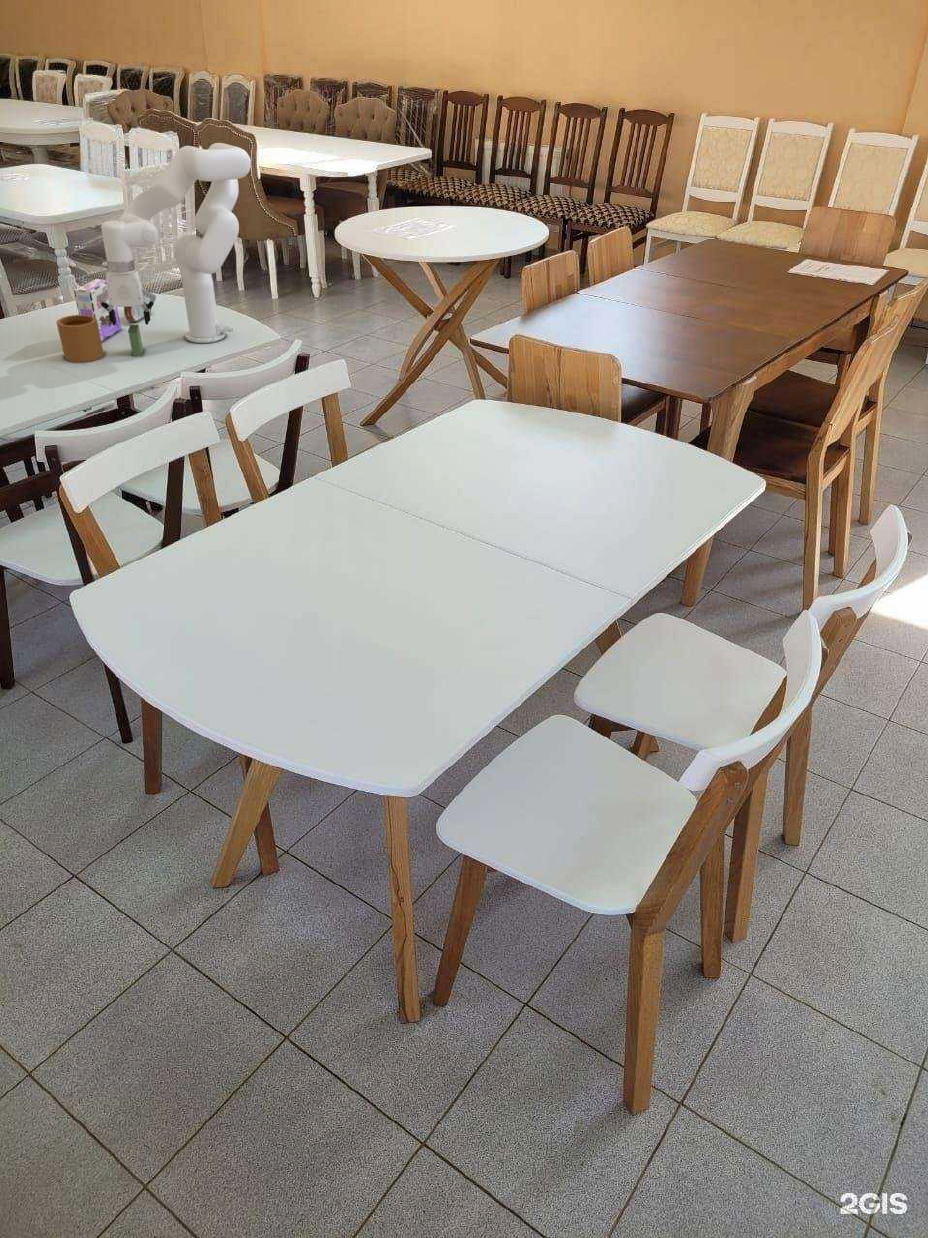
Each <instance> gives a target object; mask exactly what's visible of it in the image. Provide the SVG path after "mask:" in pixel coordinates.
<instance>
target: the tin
mask: <svg viewBox="0 0 928 1238" xmlns="http://www.w3.org/2000/svg"><path fill="white" fill-rule="evenodd" d="M150 300H151V299H150V298H149V297H147V296H144V301H145V302H146V303H147V304H148V303H149V302H150ZM152 307H153V306H152ZM152 307H151V308H150V310H149V314H150V315H151V312H152ZM143 312H144V309H143V308H142V307H141V306H136V307H123V313H124V317H125V319H126V320H127V321H128V322H134V323H138V322H139V321H141V320H143V319H144V313H143Z"/></svg>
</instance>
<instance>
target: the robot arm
mask: <svg viewBox="0 0 928 1238" xmlns="http://www.w3.org/2000/svg"><path fill="white" fill-rule="evenodd" d="M251 167H252V159H251V158H250V155H249V154H248V152H247V151H246V150H245V149H243V148H241V147H239V146H235V145H232V144H228V143H224V142H214V143H213V144H211V145H210V146H209V147H208V149H205V148H200V147H197V146H191V145H184V146H182V147H181V148H179V149H178V150H177V151H176V153H175V154H174V156H173V157H172V159H171V160H170V161H169V163H168V164H167V166H166V167H165V168H164V170H163V171H162V172H161V174H160V175H159V177H158V178H157V179H156V181H155V182H154V183H153V184H151V185H150V186H148V187H147V188H146V189H145V190H143V191H142V192H140V193H139V194H138V195H137V196H136V197H134V199H132V201H131V202H129V204H128V205H127V207H126V208H125V210H124V211H123V213H122V214H121V216H120V218H119V220H107V221H104V222H102V223H101V225H100V229H101V235H102V242H103V246H104V251H105V258H106V261H102V263H101V264H102V267H103V268H106V269H107V270H106V271H105V280H106V286H107V291H105V292H103V293H101V294H99V295H98V296H97V297H96V298H97V300H98V301H99V303H100V304H101V306H102V307H104V308H105V309H106V310H107V311H108V312H109V317H110V322H112V323H113V325H116V316H115V310H114V309H113V307H117V308H122V307H123V308H124V307H136V306H141V307H142V308H143V309H144V312H143V313H144V318H143V319H144V324H145V325H146V326H148V325H149V322H151V313H150V314H149V310H150V308H151V307H154V304H155V301H156V299H157V295H156V294H154V293H152V292H150V291H148V290H145V289H143V288H144V287H143V285H142V281H141V280H142V279H141V277H140V273H139V271H138V269H136V267H135V261H134V254H133V249H132V248H149V247H152V246H154V245H155V244H156V243H157V242H158V240H159V237H160V235H159V231H158V228H157V226H156V225H155V224H154V223H153V222H152V221H151V220H152V218H153V217H155V215H157V214H158V213H160V212H162V211H164V210H167V209H170V208H173V207H176V206H178V205H180V204H181V203H182V201H183V200H184V198H185V197H186V196H187V194H188V193H189V191H190V190H191V188H192V187H193V186H194V184H195V183H196V182H197V180H198V181H200V182H201V181H202V182H211V183H210V185H209V186H210V187H209V189H208V191H207V193H206V195H205V197H204V198H203V201H202V203H201V204H200V206H199V208H198V210H197V212H196V213H195V216H194V221H193V222H194V223H193V224H194V227H195V229H196V231H197V232H198V233H199V234H201V235H202V236H203V237H200V236H197V235H194V234H184V235H182V236H181V237H179V238H178V239H177V240H176V242H175V245H174V255H175V260H176V264H177V266H178V270H179V273H180V278H181V283H182V288H183V289H182V290H183V297H184V304H185V310H186V315H187V324H188V329H189V330H188V331H187V332H185V334H184V335H185V336H184V337H185V339H186V340H187V341H189V342H192V343H198V344H207V343H214V342H218V341H221V340H222V339H224V338H225V336H226V333H227V332H228V333H233V332H234V325H230V324H229V323H225V324H223V323H221V321H220V320H221V319H219V317H218V311H217V303H216V295H215V288H214V280H213V275H212V274H215V273H216V272H218V271H219V270H220V269H221V268H222V266H223V265H224V263H225V261H226V259H227V257H228V255H229V254H230V252H231V251H232V248H233V246H234V245H235V242H236V241H237V238H238V235H239V231H240V224H239V223H240V222H239V220H238V217H237V216H236V215H235V213H233V212H232V211H233V210H234V207H235V205H236V203H237V202H238V201H237V200H238V197H239V191H240V189H239V180H238V179H242V178H245V177H246V176H247V175H248V174H249V172H250V171H251ZM106 296H108V301H109V304H110V305H108V304H107V303H106V302H105V301H104V300H103V298H104V297H106ZM144 296H147V297H149V298H150V299H151V300H150V302H149V303H148V304H147V303H146V302H145V301H144ZM151 309H152V308H151Z"/></svg>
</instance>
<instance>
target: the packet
mask: <svg viewBox="0 0 928 1238" xmlns="http://www.w3.org/2000/svg"><path fill="white" fill-rule="evenodd" d="M127 333H128V338H129V343H130V347H131V352H132V356H133V357H141V356H142V355H143V351H144V347H143V342H142V337H141V336H142V335H141V331H140V325H139V324H129V327H128V330H127Z"/></svg>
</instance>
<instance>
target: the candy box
mask: <svg viewBox="0 0 928 1238" xmlns="http://www.w3.org/2000/svg"><path fill="white" fill-rule="evenodd" d="M105 291H107V286H106V279H103V278H94V280H92V281H89V282H87V283H86V284H83V285H81V286H80V287H77V288H75V289H73V293H74V298H75V304H76V306H77V307H76V308H77V312H78V315H90V316H93V317H96V319H97V324H98V328H99V333H100V338H101V342H104V341H105V340H107V339H108V338H110V337H112V336H114V335H116V333H118V332H120V331H121V330H122V326H121V321H120V317H119V311H118V307H113V309H114V310H115V316H116V325H113V323H112V322H110V317H109V312H108V311H107V310H106V309H105V308H104V307H102V306H101V304H100V303H99V301H98V300H97V298H96V297H97V296H98V295H99V294H101V293H103V292H105ZM103 300H104V301H105V302H106V303H107V304H108V305H110V304H109V301H108V296H106V297H104V298H103Z"/></svg>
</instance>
